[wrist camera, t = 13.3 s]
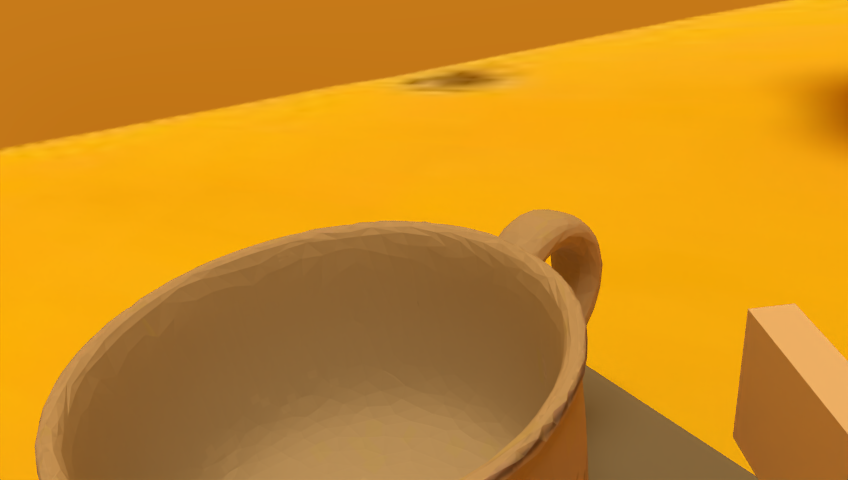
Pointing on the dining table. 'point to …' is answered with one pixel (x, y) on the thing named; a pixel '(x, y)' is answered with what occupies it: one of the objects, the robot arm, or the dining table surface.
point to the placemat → (644, 441)
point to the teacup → (344, 362)
